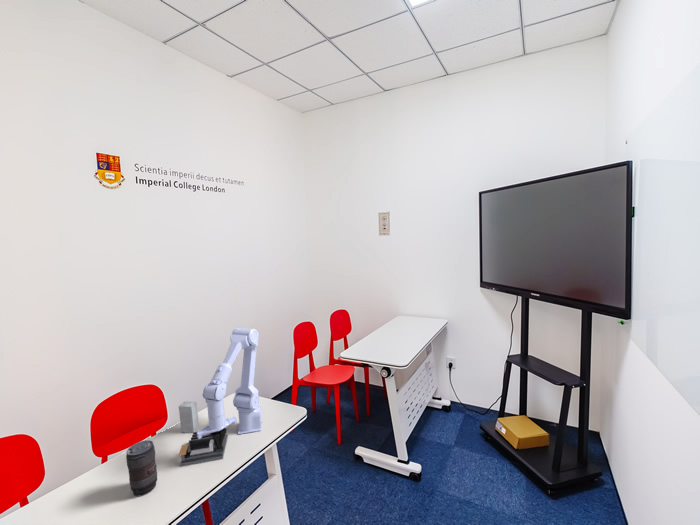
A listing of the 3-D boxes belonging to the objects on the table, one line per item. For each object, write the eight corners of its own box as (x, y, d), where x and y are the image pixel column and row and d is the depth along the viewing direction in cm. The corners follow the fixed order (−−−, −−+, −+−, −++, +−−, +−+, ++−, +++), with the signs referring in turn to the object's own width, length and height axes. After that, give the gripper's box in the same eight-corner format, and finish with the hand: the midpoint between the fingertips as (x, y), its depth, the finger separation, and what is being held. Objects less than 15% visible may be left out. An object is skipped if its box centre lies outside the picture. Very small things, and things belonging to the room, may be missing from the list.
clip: (214, 450, 128) (213, 439, 128) (213, 454, 126) (212, 443, 126) (191, 454, 127) (190, 443, 126) (190, 458, 124) (189, 447, 124)
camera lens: (154, 475, 118) (150, 436, 116) (161, 487, 112) (157, 446, 111) (128, 488, 112) (123, 447, 111) (133, 502, 107) (128, 458, 105)
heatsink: (227, 436, 139) (227, 425, 138) (222, 458, 125) (221, 447, 125) (188, 443, 136) (187, 432, 135) (179, 466, 122) (178, 454, 121)
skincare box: (199, 427, 147) (197, 401, 145) (194, 432, 142) (191, 406, 141) (186, 426, 147) (184, 401, 146) (180, 432, 143) (178, 406, 142)
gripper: (231, 403, 134) (233, 434, 135) (193, 417, 124) (196, 451, 126) (238, 410, 128) (240, 442, 130) (198, 425, 119) (202, 460, 121)
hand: (219, 447), depth 127 cm, fingers closed
